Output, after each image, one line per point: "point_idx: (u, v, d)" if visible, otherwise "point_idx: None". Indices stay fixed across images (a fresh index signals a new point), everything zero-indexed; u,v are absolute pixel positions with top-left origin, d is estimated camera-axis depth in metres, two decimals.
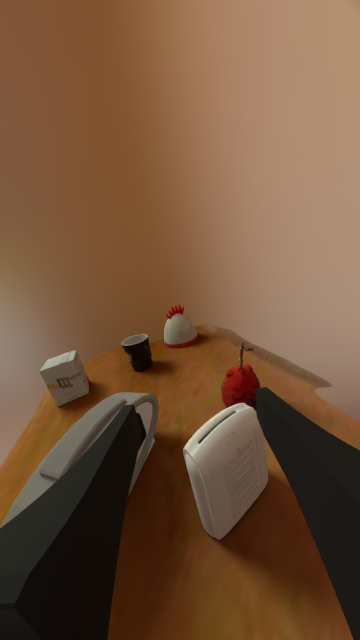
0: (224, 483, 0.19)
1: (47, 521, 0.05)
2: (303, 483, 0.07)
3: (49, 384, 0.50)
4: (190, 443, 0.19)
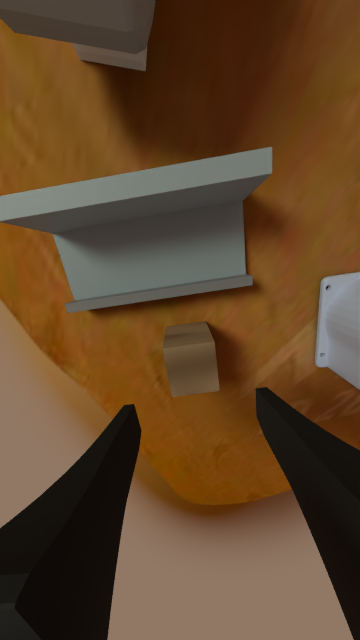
0: None
1: (47, 521, 0.05)
2: (303, 483, 0.07)
3: None
4: None
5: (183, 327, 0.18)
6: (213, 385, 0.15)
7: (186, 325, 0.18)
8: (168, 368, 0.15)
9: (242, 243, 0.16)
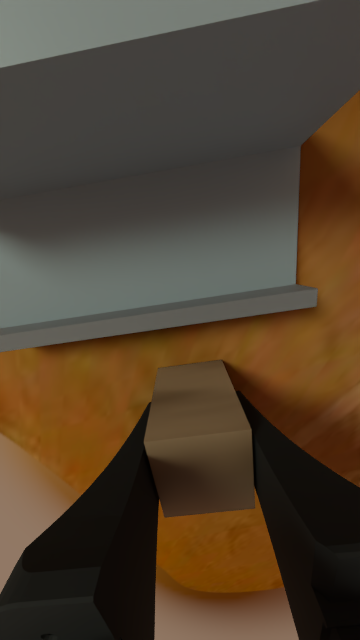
0: None
1: (101, 515, 0.05)
2: (262, 487, 0.07)
3: None
4: None
5: (185, 373, 0.11)
6: (242, 501, 0.08)
7: (190, 368, 0.11)
8: (156, 474, 0.07)
9: (293, 229, 0.09)
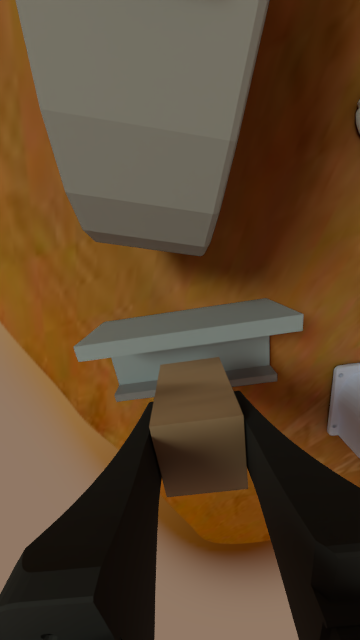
0: None
1: (101, 516, 0.05)
2: (262, 487, 0.07)
3: None
4: None
5: (185, 368, 0.12)
6: (237, 482, 0.09)
7: (190, 364, 0.12)
8: (160, 456, 0.08)
9: (267, 342, 0.19)
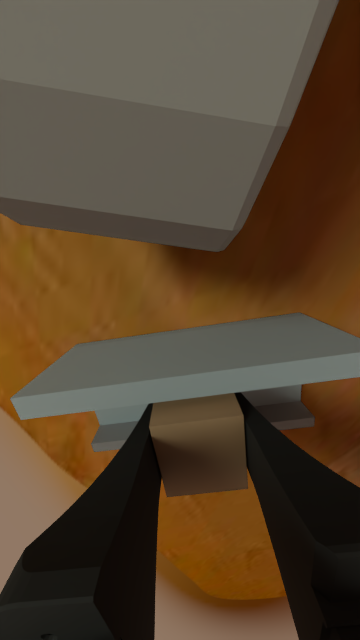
0: None
1: (101, 515, 0.05)
2: (262, 487, 0.07)
3: None
4: None
5: None
6: (237, 481, 0.09)
7: None
8: (160, 456, 0.08)
9: None
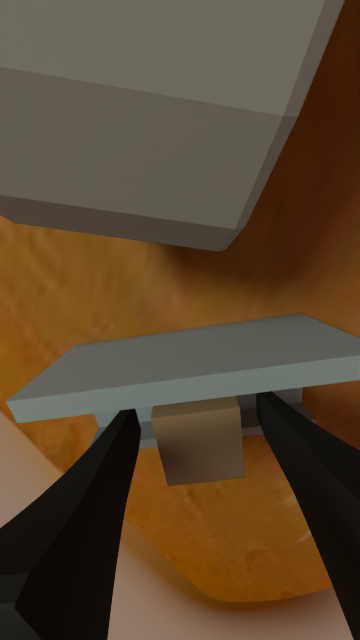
0: None
1: (47, 521, 0.05)
2: (303, 483, 0.07)
3: None
4: None
5: None
6: (234, 470, 0.09)
7: None
8: (161, 447, 0.09)
9: None
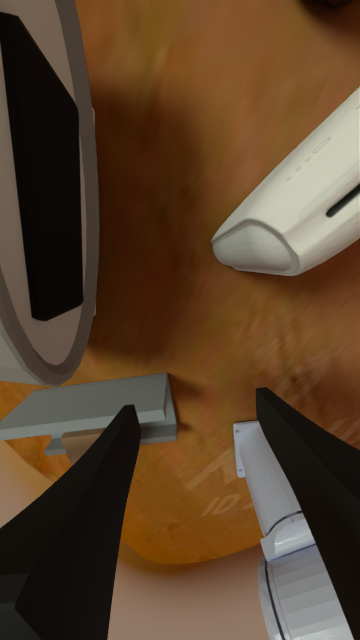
0: None
1: (47, 521, 0.05)
2: (303, 483, 0.07)
3: None
4: (299, 215, 0.06)
5: None
6: None
7: None
8: (68, 452, 0.18)
9: (171, 407, 0.22)
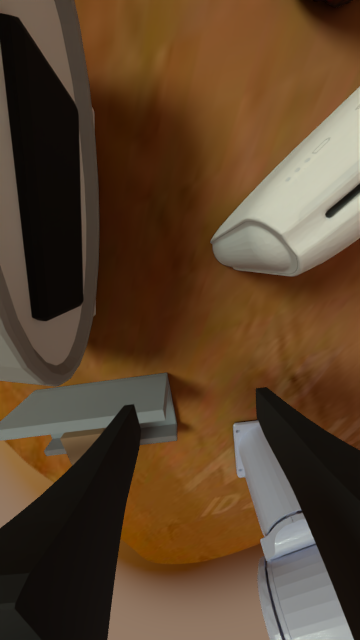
0: None
1: (47, 521, 0.05)
2: (303, 483, 0.07)
3: None
4: (298, 216, 0.06)
5: None
6: None
7: None
8: (68, 452, 0.18)
9: (171, 407, 0.22)
